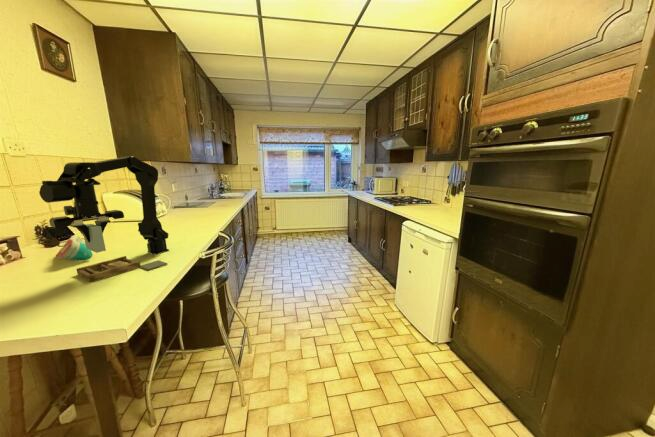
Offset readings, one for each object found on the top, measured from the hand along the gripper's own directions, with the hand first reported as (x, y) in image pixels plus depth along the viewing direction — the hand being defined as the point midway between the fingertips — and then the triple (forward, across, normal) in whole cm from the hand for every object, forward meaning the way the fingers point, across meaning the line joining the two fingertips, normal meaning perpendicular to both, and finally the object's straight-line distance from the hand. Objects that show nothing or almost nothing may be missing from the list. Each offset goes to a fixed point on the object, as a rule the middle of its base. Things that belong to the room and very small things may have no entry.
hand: (94, 241), depth 91 cm
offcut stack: (+13, -6, 0) cm, 14 cm away
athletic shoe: (+13, -1, -33) cm, 36 cm away
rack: (+13, -3, 0) cm, 13 cm away
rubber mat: (+13, -14, +10) cm, 21 cm away
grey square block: (+3, 0, 0) cm, 3 cm away
